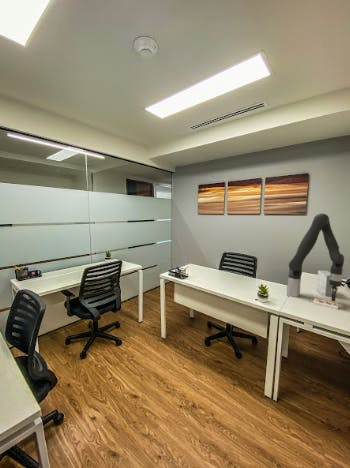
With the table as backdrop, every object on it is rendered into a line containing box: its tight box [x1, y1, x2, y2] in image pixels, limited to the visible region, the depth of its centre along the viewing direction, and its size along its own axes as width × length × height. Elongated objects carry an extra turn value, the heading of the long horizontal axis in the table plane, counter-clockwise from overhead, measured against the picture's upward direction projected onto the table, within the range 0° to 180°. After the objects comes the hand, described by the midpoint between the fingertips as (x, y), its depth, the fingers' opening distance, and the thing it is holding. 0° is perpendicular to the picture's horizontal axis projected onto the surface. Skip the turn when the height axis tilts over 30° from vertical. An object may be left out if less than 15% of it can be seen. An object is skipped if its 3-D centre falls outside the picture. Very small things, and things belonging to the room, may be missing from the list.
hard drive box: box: [316, 270, 333, 298], centre depth 180 cm, size 16×8×20 cm, turn 168°
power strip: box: [308, 298, 339, 311], centre depth 159 cm, size 18×7×3 cm, turn 51°
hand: (333, 299), depth 158 cm, fingers open, 8 cm apart
